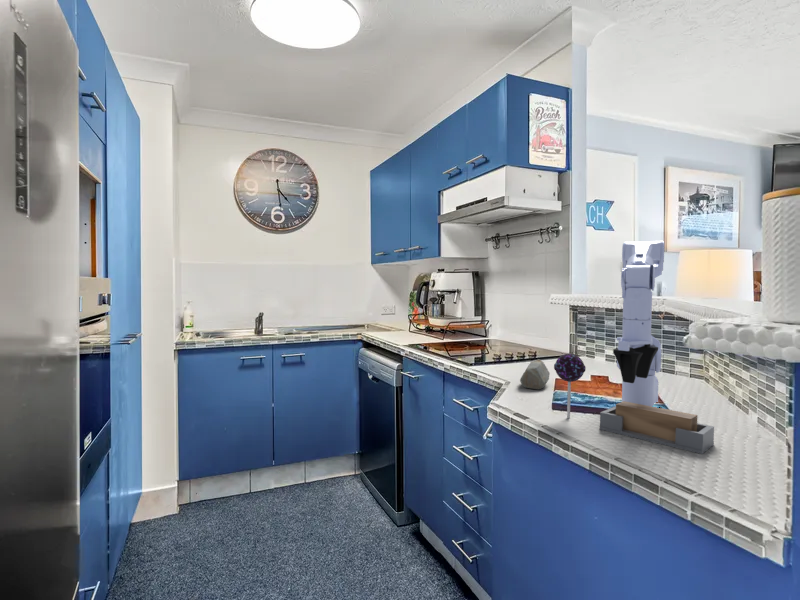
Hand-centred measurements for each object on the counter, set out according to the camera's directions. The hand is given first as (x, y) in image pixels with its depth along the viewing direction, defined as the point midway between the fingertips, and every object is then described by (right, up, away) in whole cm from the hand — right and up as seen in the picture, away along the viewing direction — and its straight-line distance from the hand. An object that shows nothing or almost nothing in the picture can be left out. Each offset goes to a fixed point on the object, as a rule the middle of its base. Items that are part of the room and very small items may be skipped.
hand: (635, 379), depth 102 cm
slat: (-1, -10, -9) cm, 13 cm away
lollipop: (-13, -10, +4) cm, 17 cm away
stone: (-11, -9, +38) cm, 40 cm away
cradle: (-1, -10, -9) cm, 13 cm away
